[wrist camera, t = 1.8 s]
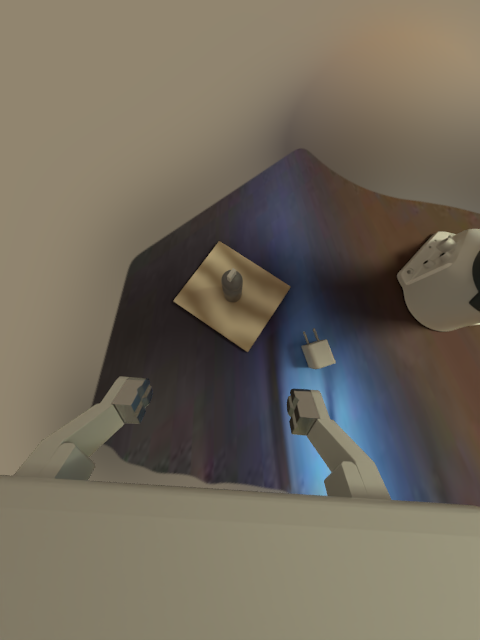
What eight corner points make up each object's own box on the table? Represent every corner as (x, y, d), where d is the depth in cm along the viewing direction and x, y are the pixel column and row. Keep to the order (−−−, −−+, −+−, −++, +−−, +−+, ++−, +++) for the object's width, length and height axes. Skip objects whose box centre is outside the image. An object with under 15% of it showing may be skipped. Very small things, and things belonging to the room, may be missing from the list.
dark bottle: (230, 282, 38) (228, 257, 28) (245, 291, 38) (248, 270, 28) (220, 296, 38) (214, 275, 28) (235, 305, 38) (234, 289, 27)
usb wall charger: (307, 367, 37) (316, 369, 33) (295, 334, 38) (302, 332, 34) (326, 361, 37) (337, 362, 33) (313, 328, 38) (322, 325, 34)
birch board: (219, 243, 41) (219, 240, 40) (289, 288, 39) (290, 286, 38) (174, 302, 38) (173, 301, 37) (247, 352, 37) (247, 352, 36)
